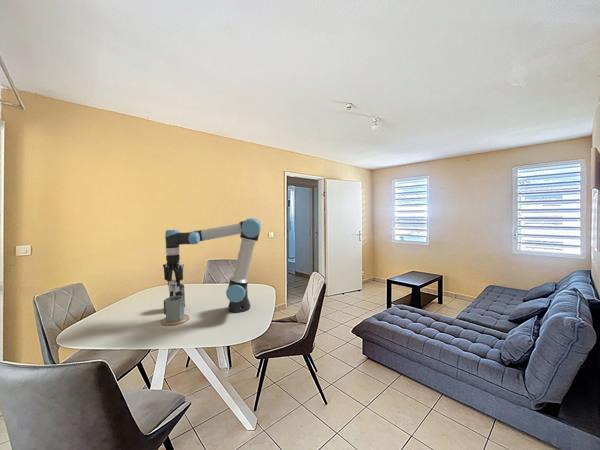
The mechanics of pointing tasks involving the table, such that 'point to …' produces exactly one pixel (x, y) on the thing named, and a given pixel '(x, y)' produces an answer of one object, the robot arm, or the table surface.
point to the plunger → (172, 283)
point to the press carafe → (174, 311)
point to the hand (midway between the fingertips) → (174, 291)
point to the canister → (179, 292)
